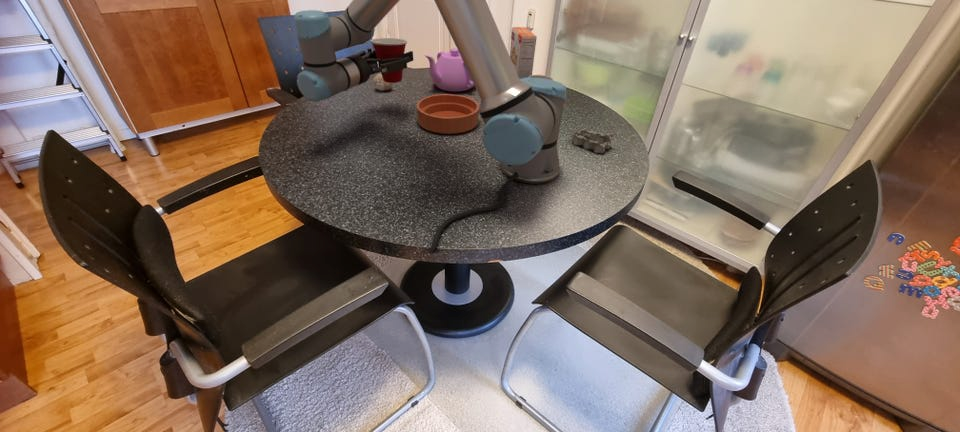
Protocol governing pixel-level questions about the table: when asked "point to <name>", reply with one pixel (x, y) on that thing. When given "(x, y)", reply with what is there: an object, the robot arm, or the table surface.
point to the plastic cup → (389, 54)
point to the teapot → (450, 72)
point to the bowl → (447, 113)
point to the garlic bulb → (381, 83)
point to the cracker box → (522, 51)
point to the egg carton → (592, 140)
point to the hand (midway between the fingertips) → (399, 53)
